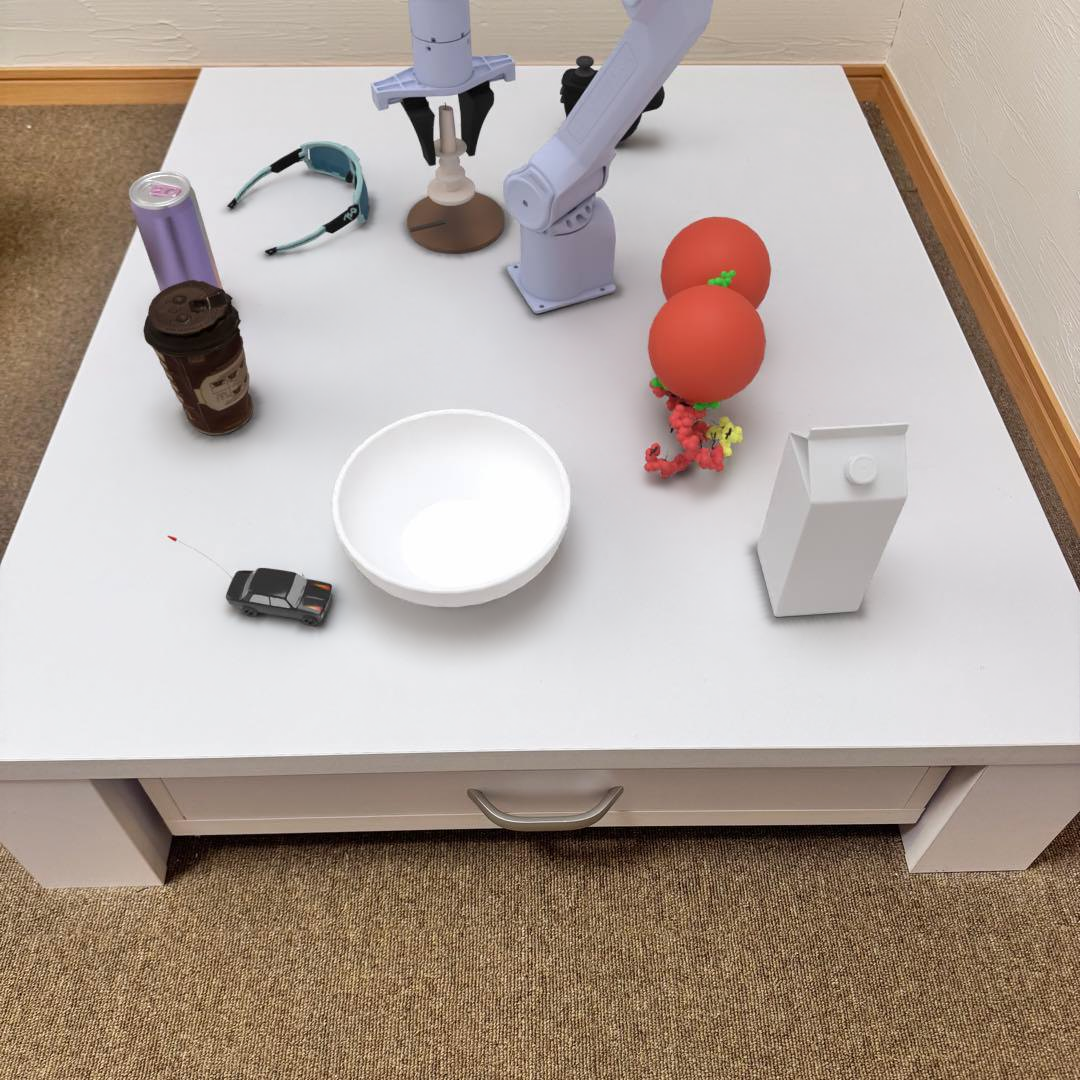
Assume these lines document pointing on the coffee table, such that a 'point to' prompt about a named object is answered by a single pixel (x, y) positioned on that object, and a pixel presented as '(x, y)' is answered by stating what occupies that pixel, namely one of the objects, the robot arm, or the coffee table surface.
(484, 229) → the coaster
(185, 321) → the coffee cup
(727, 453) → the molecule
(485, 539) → the bowl
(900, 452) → the milk carton
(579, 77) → the controller
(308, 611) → the toy car
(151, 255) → the beverage can
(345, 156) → the sunglasses
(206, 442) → the coffee table surface
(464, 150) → the candle
